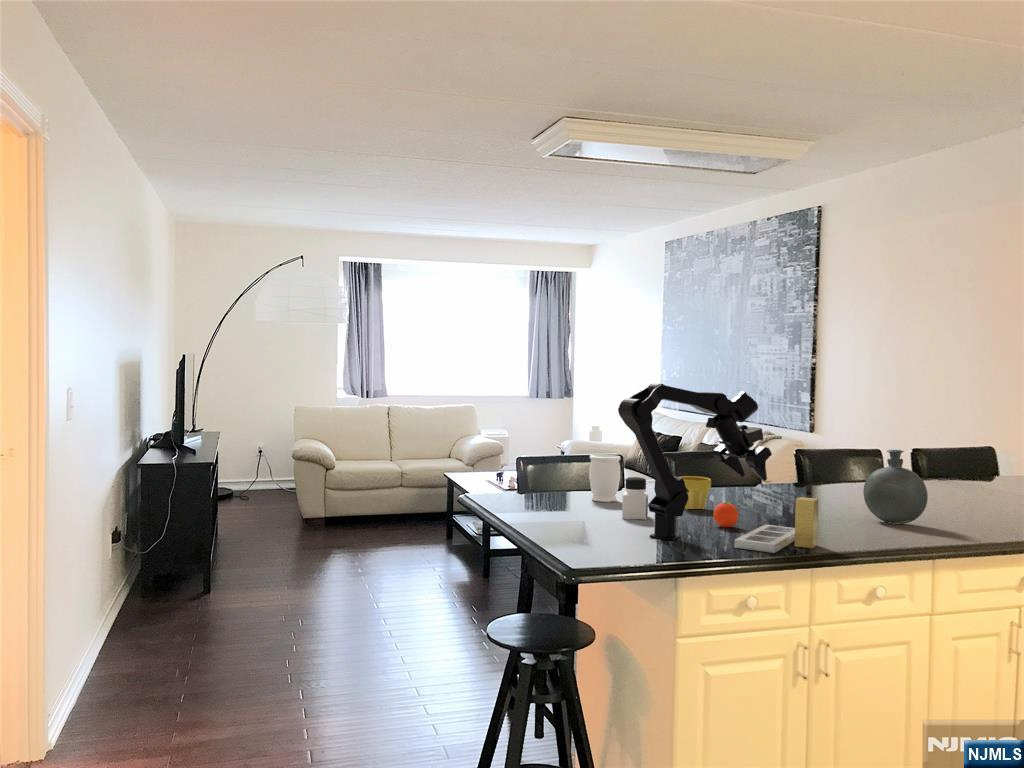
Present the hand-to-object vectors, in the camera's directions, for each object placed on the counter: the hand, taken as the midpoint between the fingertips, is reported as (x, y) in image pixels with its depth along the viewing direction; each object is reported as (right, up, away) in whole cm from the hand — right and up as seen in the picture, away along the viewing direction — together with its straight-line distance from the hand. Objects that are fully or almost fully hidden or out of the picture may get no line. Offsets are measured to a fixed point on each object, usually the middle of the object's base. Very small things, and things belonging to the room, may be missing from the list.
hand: (754, 478), depth 236 cm
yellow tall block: (+8, -15, -19) cm, 25 cm away
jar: (-36, -13, +49) cm, 62 cm away
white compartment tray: (0, -15, -14) cm, 21 cm away
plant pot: (-9, -14, +36) cm, 39 cm away
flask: (+46, -15, +15) cm, 51 cm away
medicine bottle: (-31, -14, +17) cm, 38 cm away
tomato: (-6, -15, +5) cm, 17 cm away
